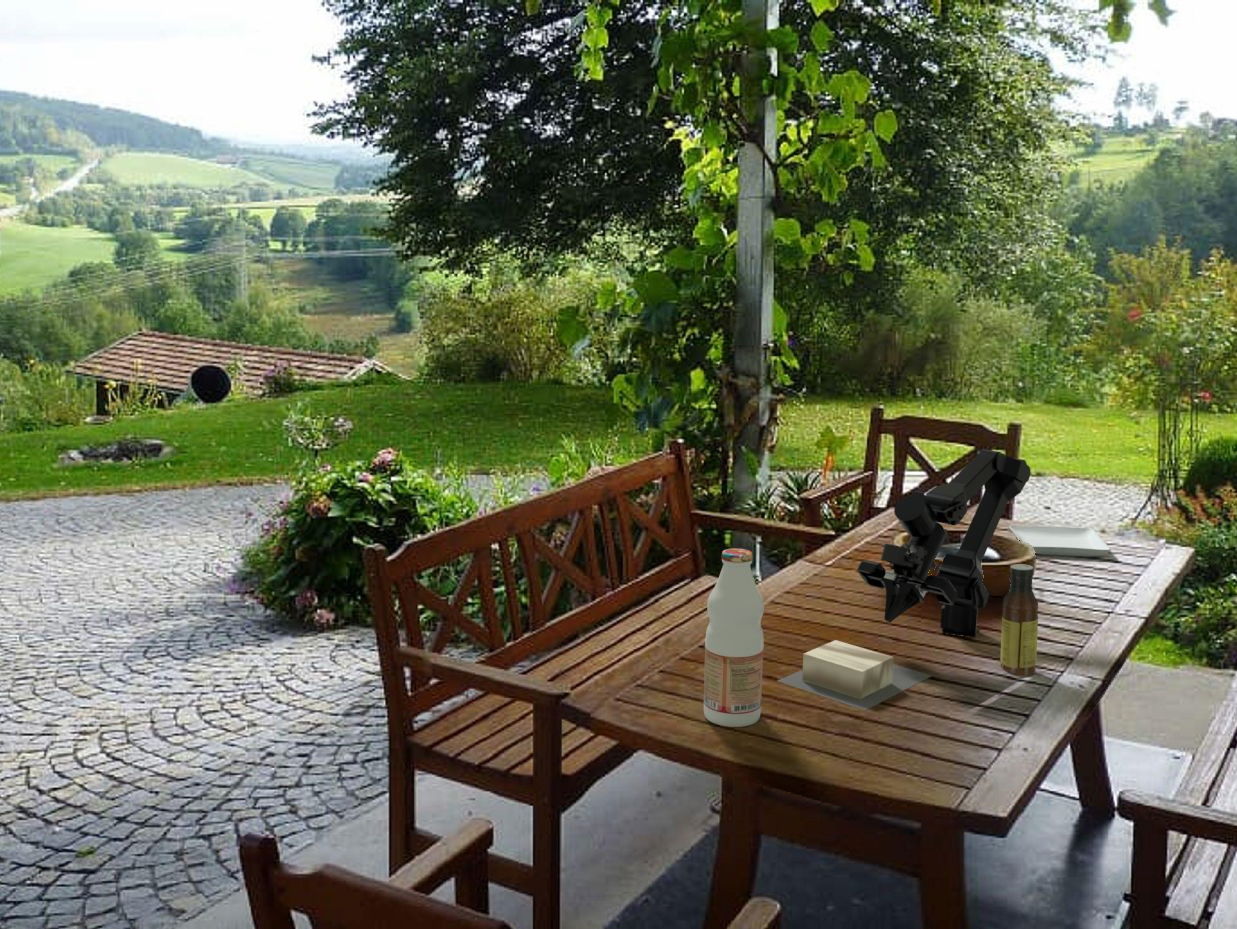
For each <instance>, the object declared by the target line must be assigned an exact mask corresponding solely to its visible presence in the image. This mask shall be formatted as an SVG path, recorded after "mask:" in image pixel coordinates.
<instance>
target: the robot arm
mask: <svg viewBox="0 0 1237 929" xmlns="http://www.w3.org/2000/svg"><path fill="white" fill-rule="evenodd" d="M1030 478H1031V467H1030V466H1029V465H1028V464H1027V461H1026V460H1025V459H1022V458H1014V457H1010V456H1008V455H1006V454H1004V453H1002V452H1001V451H996V450H990V449H978V450H977V451H976V452H975V455H974V457H973V459H971V460H970V461H969V462H968V464H967V465H966V466H964V467H963V468H962V469H961V470H960V472H958V473H957V474H956V476H954V477H953V478H952V480H951V481H949V482H947V483H946V484H941V485H937V486H935V487H934V488H932V489H930V490H929V491H928V492H926V493H924V492H923V491H917V490H914V491H912V492H911V495H908V496H905V497H902V498H901V499H899V501H897V502H896V504H895V505H894V510H893V511H894V515H895V517H896V519H897V520H898V522H899V523H900V525H901V526H902V527H903V530H904V531H905V532H906V534H908V536H910V538H909V540H908V542H907V544H904V543H903V544H902V545H894V544H891V543H890V544H889V543H885V544H884V546H883V550H882V553H881V556H880V557H881V558H880V561H882V562H887V563H889V564H888V566H889V568H890V569H891V570H893V571H891V570H886V568H884V566H883V565H882V564H881V563H880V562H876V561H872V560H867V559H865V560H862V561H861V562H860V563H859V564H858V566H857V569H856V570H855V571H856V572H857V573H858V574H859V576H860V577H861V578H862V579H863V581H864V583H865V584H866V585H868V586H870V587H872V588H876V589H881V590H883V589H884V588H885V598H886V599H885V608H884V617H883V618H884V621H885V622H887V623H891V622H893V621H895V619H897V618H898V617H899V616H901V615H903V614H904V613H905V612H906V611H908V610H909V609H912V608H913V607H914V606H916V605H917V604H919V603H924V602H925V601H926V599H925V598H924V597H925V596H926V593H931V594H932V593H934V594H936V599H937V602H939V603H940V604H943V605H942V606H941V611H940V612H941V613H940V614H941V615H940V628H941V629H942V630H941V633H942V634H943V633H948V634H947V635H949V634H955V635H954V636H957V635H963V636H962V637H966V636H969V637H968V638H976V637H977V632H978V624H977V623H978V612H979V609H980V608H981V609H983V608H985V607H986V605H987V604H988V600H989V597H990V596H989V593H988V592H987V590H986V588H985V586H984V585H983V583H982V581H983V578H984V575H983V570H982V565H981V562H982V559H983V558H985V554H986V552H987V550H988V547H989V545H990V543H991V541H992V538H993V536H994V533H995V531H996V530H997V527H998V525H999V522H1000V520H1001V517H1002V516H1003V513H1004V511H1005V509H1006V506H1007V503H1008V502H1010V500H1012V499H1014V498H1016V497H1017V496H1018V495H1020V494H1021V493H1022V491H1023V489H1024V487H1025V485H1026V484H1027V482H1029V480H1030ZM983 486H984V492H983V494H982V496H981V498H980V501H979V503H978V505H977V508H976V510H975V512H974V515H973V517H972V519H971V522H970V523H969V525H968V528H967V530H966V532H965V535H964V537H963V540H962V542H961V544H960V547H959V548H958V550H957V551H956V552H954V553H949V552H947V553H946V554H945V556H944V559H943V562H942V564H941V566H940V567H939V569H938V572H937V574H936V575H932V574H931V575H928V573H929V571H930V569H934V570H935V568H936V566H937V565H936V563H935V562H934V561H935V558H936V556H937V555H939V552H940V551H941V548H942V546H943V544H946V545H948V544H950V537H949V535H948V529H946V528H944V527H943V525H942V524H945V525H950V526H957V525H958V524H959V523H960V522H961V521H962V520H963V519H964V517H965V515H966V514H967V513H968V503H969V501H970V500H971V499H972V498H973V497H974V496H975V495H976V493H978V491H980V489H981V488H982V487H983ZM927 575H928V576H927Z"/></svg>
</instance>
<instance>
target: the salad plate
mask: <svg viewBox="0 0 1237 929" xmlns="http://www.w3.org/2000/svg"><path fill="white" fill-rule="evenodd" d="M1008 527H1009V529H1010V531H1011V532H1012V534H1013V535H1014V536H1015V537H1016V538H1017V540H1018V541H1019V540H1021V541H1022V542H1026V543H1029V544H1030V545H1032V547H1033V548H1034V550H1035V552H1036V554H1035V555H1043V556H1047V555H1048V556H1061V557H1062V556H1065V557H1085V558H1086V557H1088V558H1090V557H1100V556H1103V555H1107V554H1108V553H1110V551H1111V548H1110V546H1108V544H1107V543H1106V542H1105V541H1104V540H1103V539H1102V538H1101V537H1100V535H1099V534H1098V533H1097V532H1096V531H1095V530H1094V528H1091V527H1075V526H1073V527H1071V526H1054V525H1053V526H1048V525H1047V526H1045V525H1011V524H1010V525H1009V526H1008Z"/></svg>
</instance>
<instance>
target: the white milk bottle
mask: <svg viewBox="0 0 1237 929" xmlns="http://www.w3.org/2000/svg"><path fill="white" fill-rule="evenodd" d="M753 557H754V556H753V552H752V551H750V550H748V549H745V548H728V549H724V550H723V551H722V553H721V562H722V568H721V571H720V572H719V573H720V574H719V575H718V576H719V577H718V579H717V581H716V584H715V585H714V587H713V589H712V590H711V591H710V594H709V595H708V598H707V603H706V604H707V605H706V607H707V613H708V617H709V623H708V625H707V627H706V632H705V640H704V641H705V642H704V643H705V644H704V677H703V680H704V681H703V682H704V683H703V714H704V717H705V719H706V720H708V721H709V722H711V723H713V724H715V725H718V726H723V727H728V728H742V727H747V726H751V725H753V724H755V723H757V722H758V721H759V719H760V717H761V713H762V697H763V696H762V694H763V693H762V692H763V666H764V664H763V663H764V662H763V660H764V647H765V646H764V642H765V641H764V632H763V628H762V626H761V625H762V624H761V622H762V618H763V615H764V610H765V603H764V599H763V595H762V594H761V592H760V591H759V589H758V587H757V585H756V581H755V579H754V575H753V572H752V569H751V564H752V563H753V559H754V558H753Z"/></svg>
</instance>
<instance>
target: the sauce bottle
mask: <svg viewBox="0 0 1237 929" xmlns="http://www.w3.org/2000/svg"><path fill="white" fill-rule="evenodd" d="M1034 571H1035V568H1034V567H1033V566H1032V565H1030V564H1025V563H1024V564H1023V563H1017V564H1016V563H1015V564H1014V563H1013V564H1012V565H1010V567H1009V574H1010V582H1011V584H1010V590H1009V592H1008V593H1007V595H1006V596H1005V597H1003V600H1002V615H1001V633H1000V634H1001V635H1000V659H999V660H1000V668H1001V669H1002V670H1003V671H1004V672H1007V673H1010V674H1013V675H1014V674H1015V675H1020V676H1023V675H1024V676H1025V675H1026V676H1028V677H1029V676H1032V675H1034V674H1035V672H1036V665H1037V657H1038V655H1037V653H1038V652H1037V651H1038V650H1037V649H1038V634H1039V632H1038V630H1039V628H1038V627H1039V614H1038V613H1039V612H1038V611H1039V610H1038V609H1039V602H1038V600H1037V598H1036V595H1035V594H1034V592H1033V576H1034V574H1035V573H1034Z"/></svg>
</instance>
